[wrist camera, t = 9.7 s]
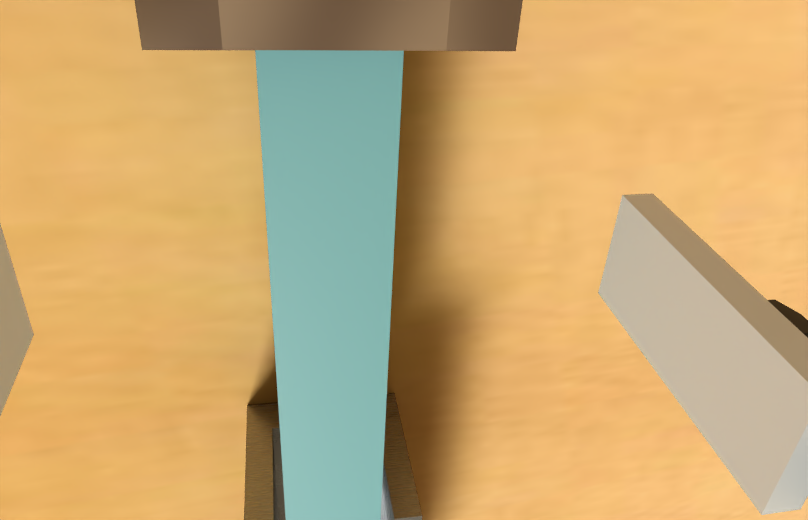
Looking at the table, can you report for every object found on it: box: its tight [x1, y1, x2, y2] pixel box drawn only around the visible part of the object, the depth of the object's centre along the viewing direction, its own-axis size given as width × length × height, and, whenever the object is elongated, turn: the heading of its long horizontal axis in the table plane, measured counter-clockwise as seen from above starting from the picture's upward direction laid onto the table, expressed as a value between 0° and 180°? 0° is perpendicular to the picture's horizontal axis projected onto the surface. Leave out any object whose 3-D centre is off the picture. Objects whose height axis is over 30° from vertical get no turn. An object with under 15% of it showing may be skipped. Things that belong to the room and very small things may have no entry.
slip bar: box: [255, 50, 404, 520], centre depth 26 cm, size 4×26×5 cm, turn 177°
